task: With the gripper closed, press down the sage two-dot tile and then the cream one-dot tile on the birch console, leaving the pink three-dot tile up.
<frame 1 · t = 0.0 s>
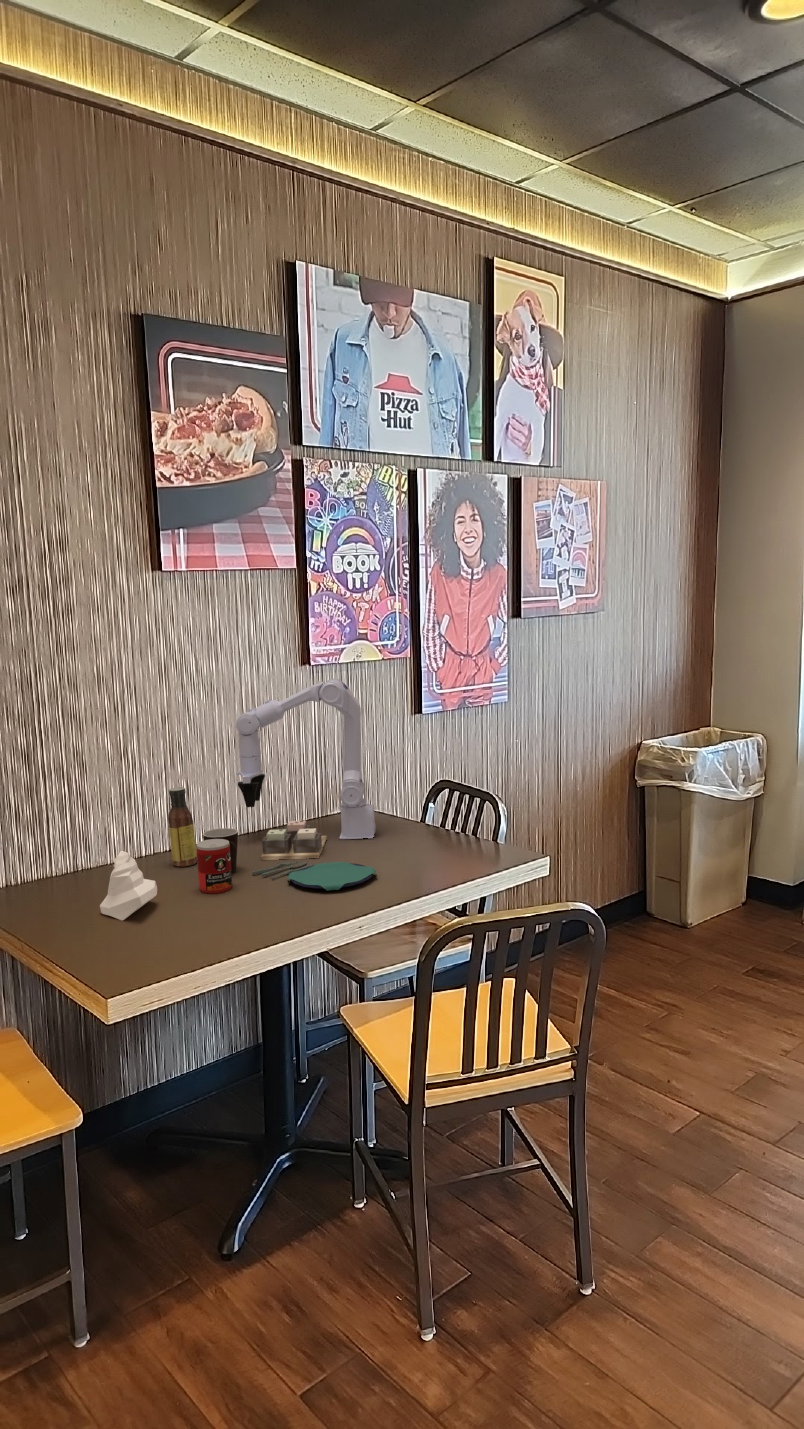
hand: (253, 803, 267), 10 cm above the table, tool pointing down, fingers open, 7 cm apart
tile three: (296, 827, 261), point 5 cm above the table, slide at 0.0 cm
sauce bottle: (184, 865, 247), on the table
coffee mug: (223, 874, 237), on the table
canned food: (216, 889, 225), on the table
soft serve ice cream: (130, 911, 212), on the table
tile one: (307, 835, 252), point 5 cm above the table, slide at 0.0 cm
tile two: (276, 836, 252), point 5 cm above the table, slide at 0.0 cm
cutlery set: (317, 879, 231), on the table
console: (295, 849, 256), on the table
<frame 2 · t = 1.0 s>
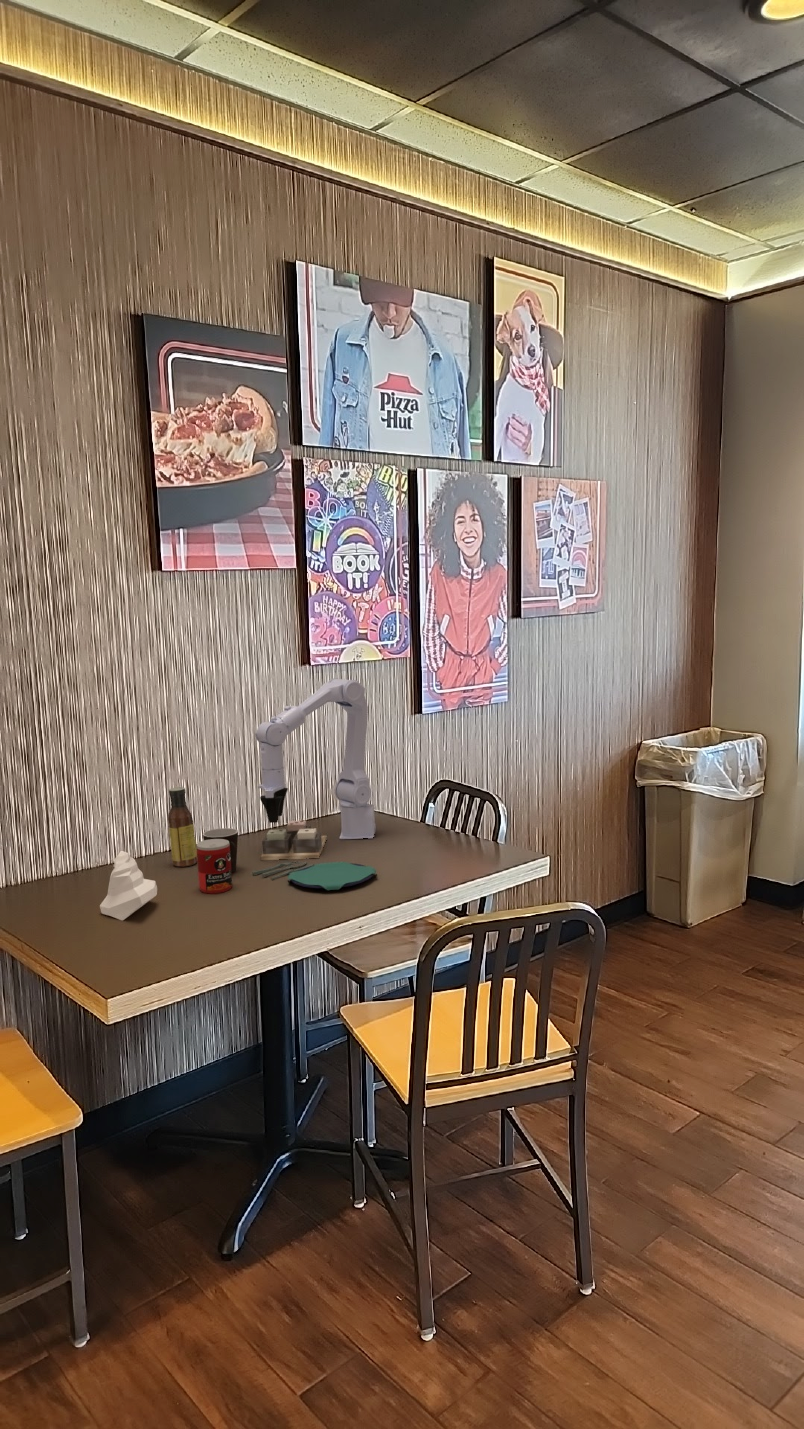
hand: (275, 819, 251), 9 cm above the table, tool pointing down, fingers open, 6 cm apart
nothing on the table moved.
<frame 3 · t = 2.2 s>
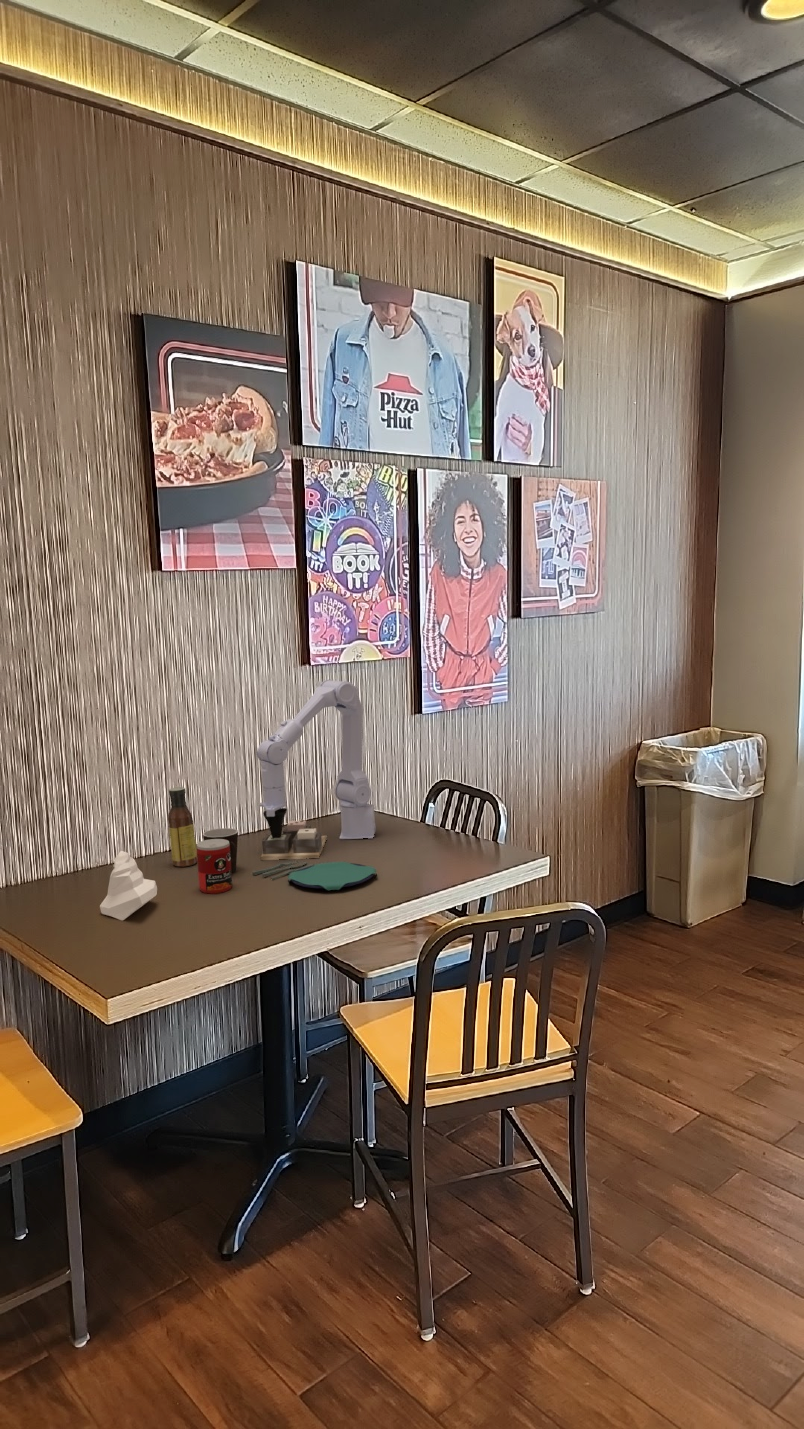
hand: (276, 837, 252), 5 cm above the table, tool pointing down, fingers closed, pressing on tile two
tile two: (277, 842, 252), point 3 cm above the table, slide at 1.5 cm, touching gripper
everything else where it was.
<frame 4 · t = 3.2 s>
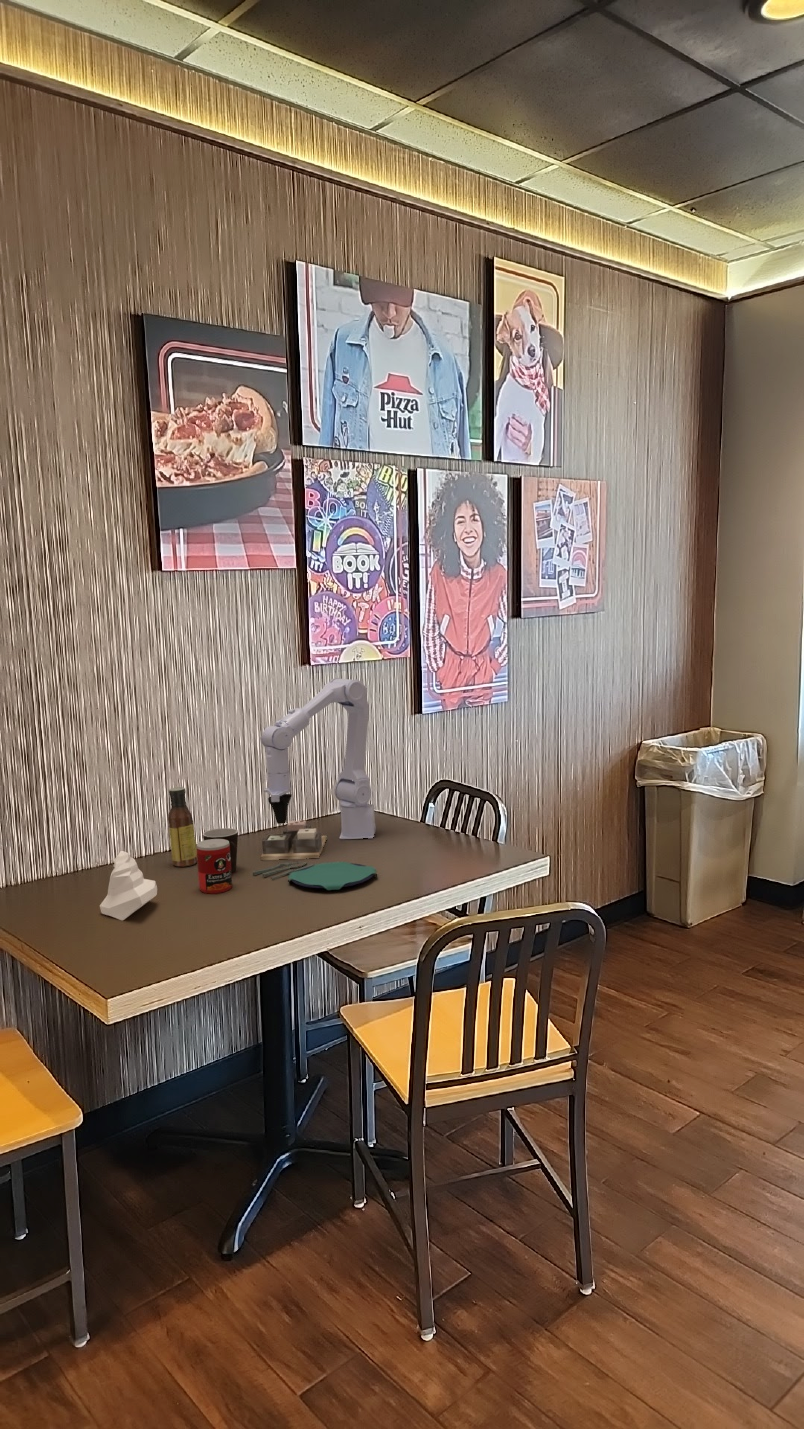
hand: (281, 822, 251), 8 cm above the table, tool pointing down, fingers closed
tile two: (277, 842, 252), point 3 cm above the table, slide at 1.6 cm
everything else where it was.
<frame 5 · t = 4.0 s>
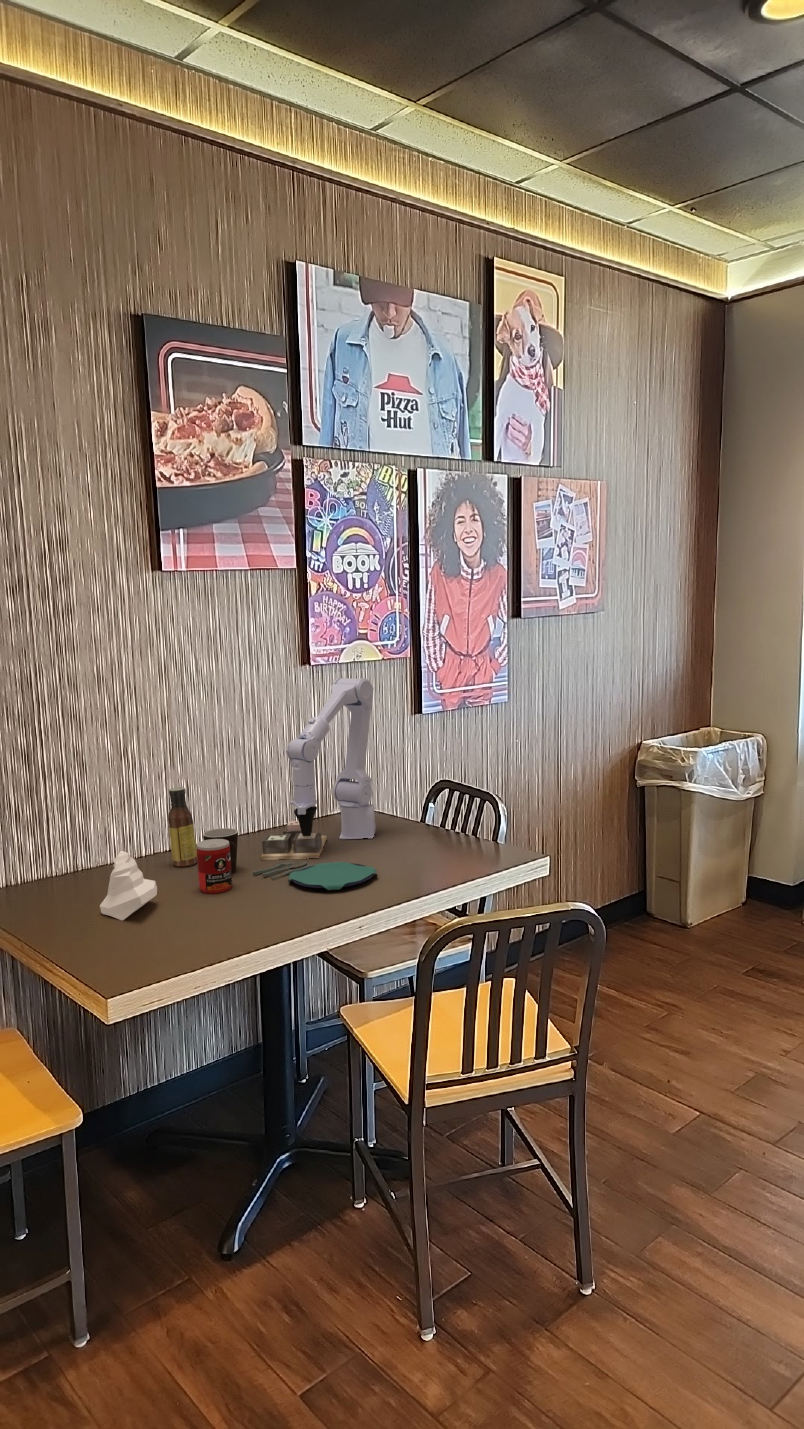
hand: (306, 835, 252), 5 cm above the table, tool pointing down, fingers closed, pressing on tile one
tile one: (307, 840, 252), point 3 cm above the table, slide at 1.3 cm, touching gripper
everything else where it was.
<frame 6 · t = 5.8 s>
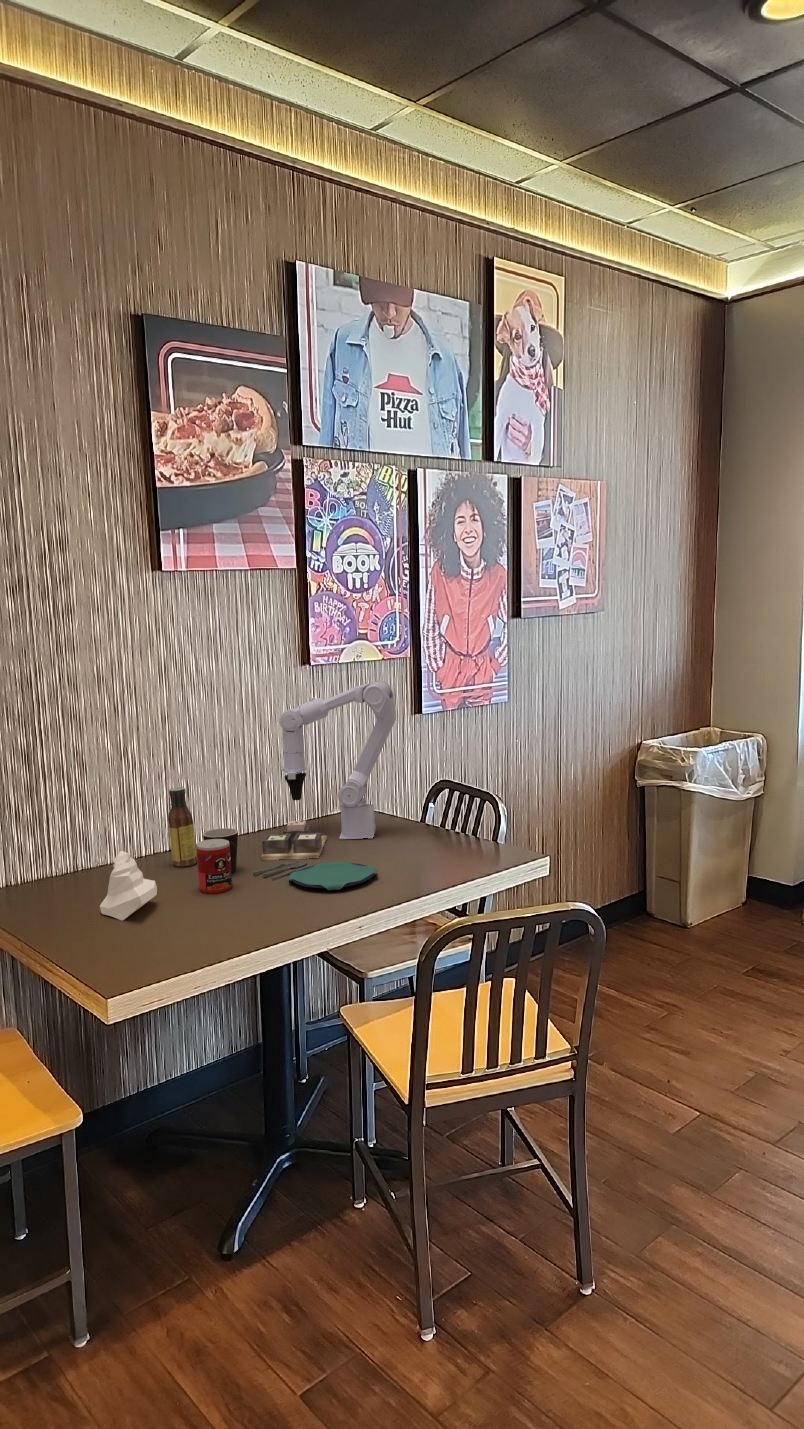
hand: (296, 799, 269), 10 cm above the table, tool pointing down, fingers closed
tile one: (307, 841, 252), point 3 cm above the table, slide at 1.6 cm
everything else where it was.
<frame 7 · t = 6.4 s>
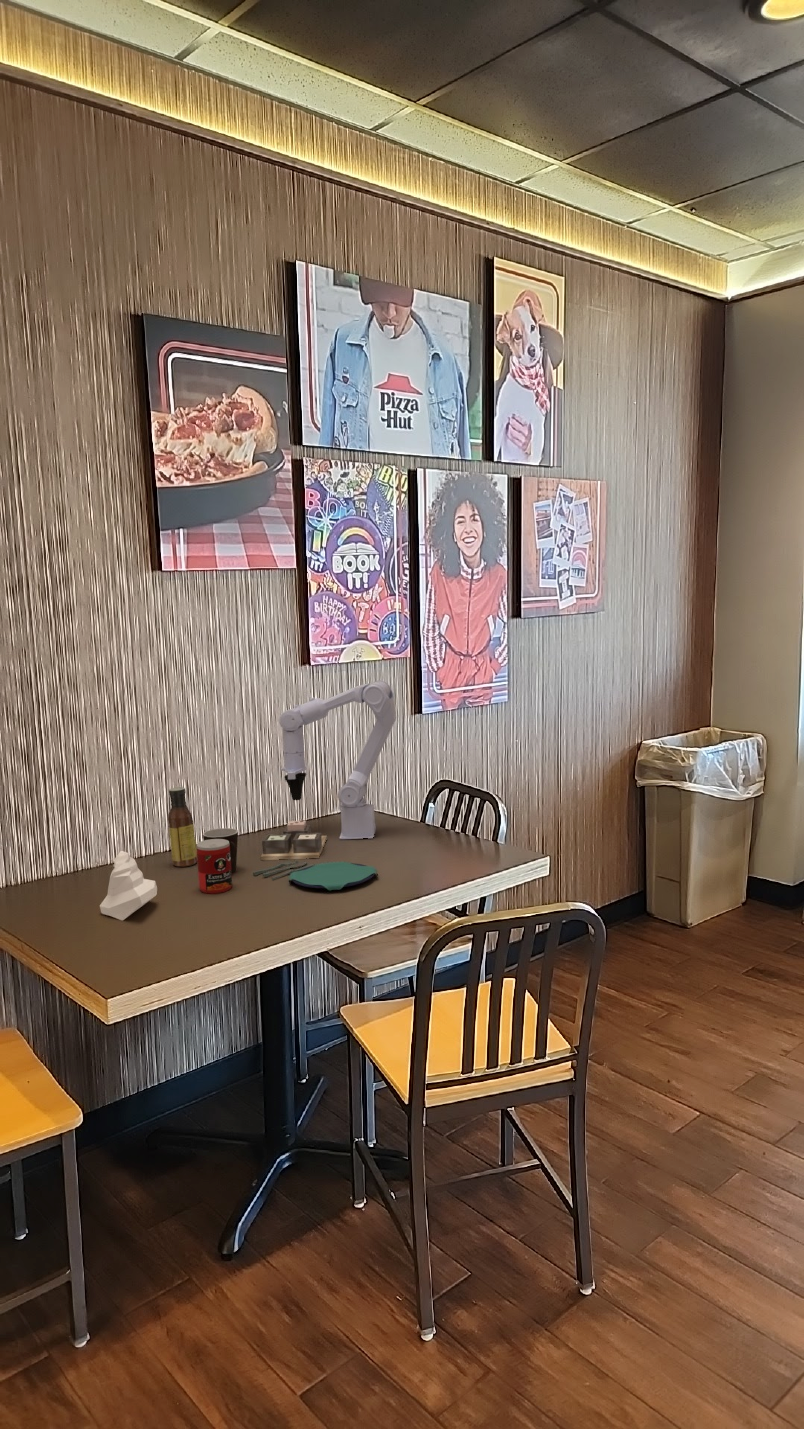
hand: (296, 799, 269), 10 cm above the table, tool pointing down, fingers closed
nothing on the table moved.
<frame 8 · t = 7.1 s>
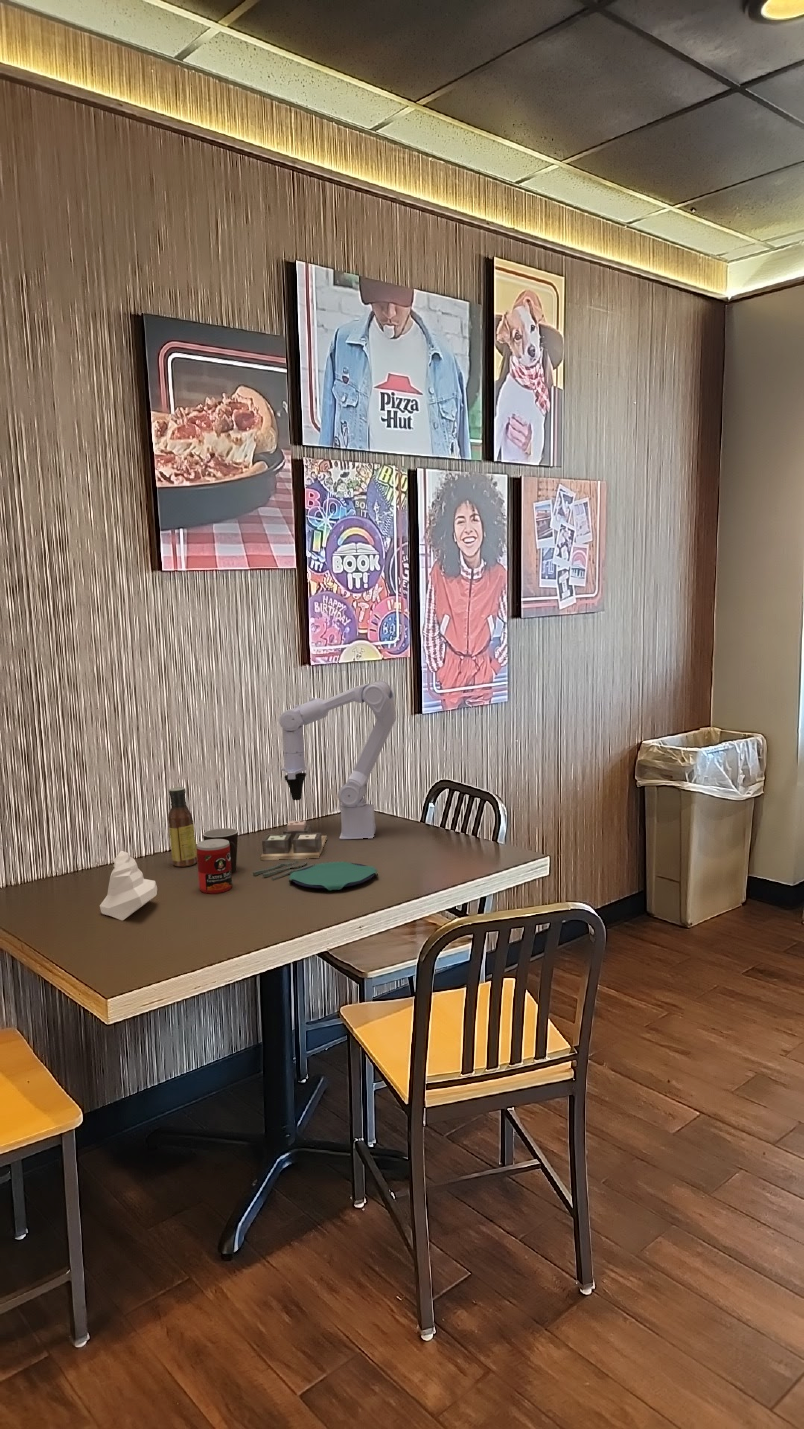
hand: (296, 799, 269), 10 cm above the table, tool pointing down, fingers closed
nothing on the table moved.
at the end: tile two slide at 1.6 cm; tile one slide at 1.6 cm; tile three slide at 0.0 cm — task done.
